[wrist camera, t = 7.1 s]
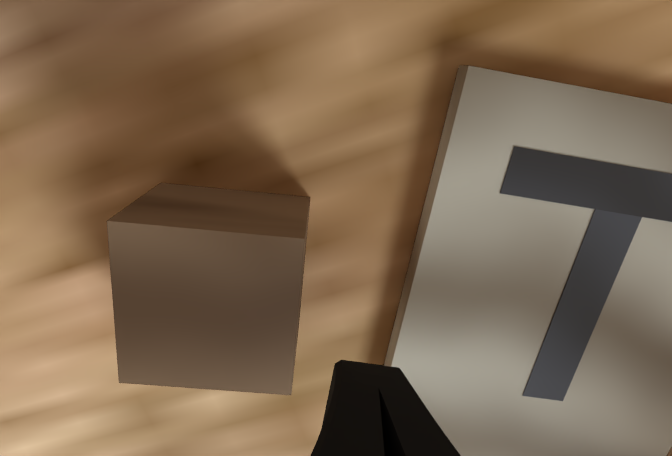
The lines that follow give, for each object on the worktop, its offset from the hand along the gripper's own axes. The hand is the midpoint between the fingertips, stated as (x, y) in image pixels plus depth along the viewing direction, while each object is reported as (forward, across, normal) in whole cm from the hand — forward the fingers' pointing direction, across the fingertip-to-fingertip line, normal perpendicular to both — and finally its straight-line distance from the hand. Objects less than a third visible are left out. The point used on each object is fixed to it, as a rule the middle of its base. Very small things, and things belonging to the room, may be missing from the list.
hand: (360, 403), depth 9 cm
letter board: (+7, -8, +1) cm, 11 cm away
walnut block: (+7, +4, 0) cm, 8 cm away
